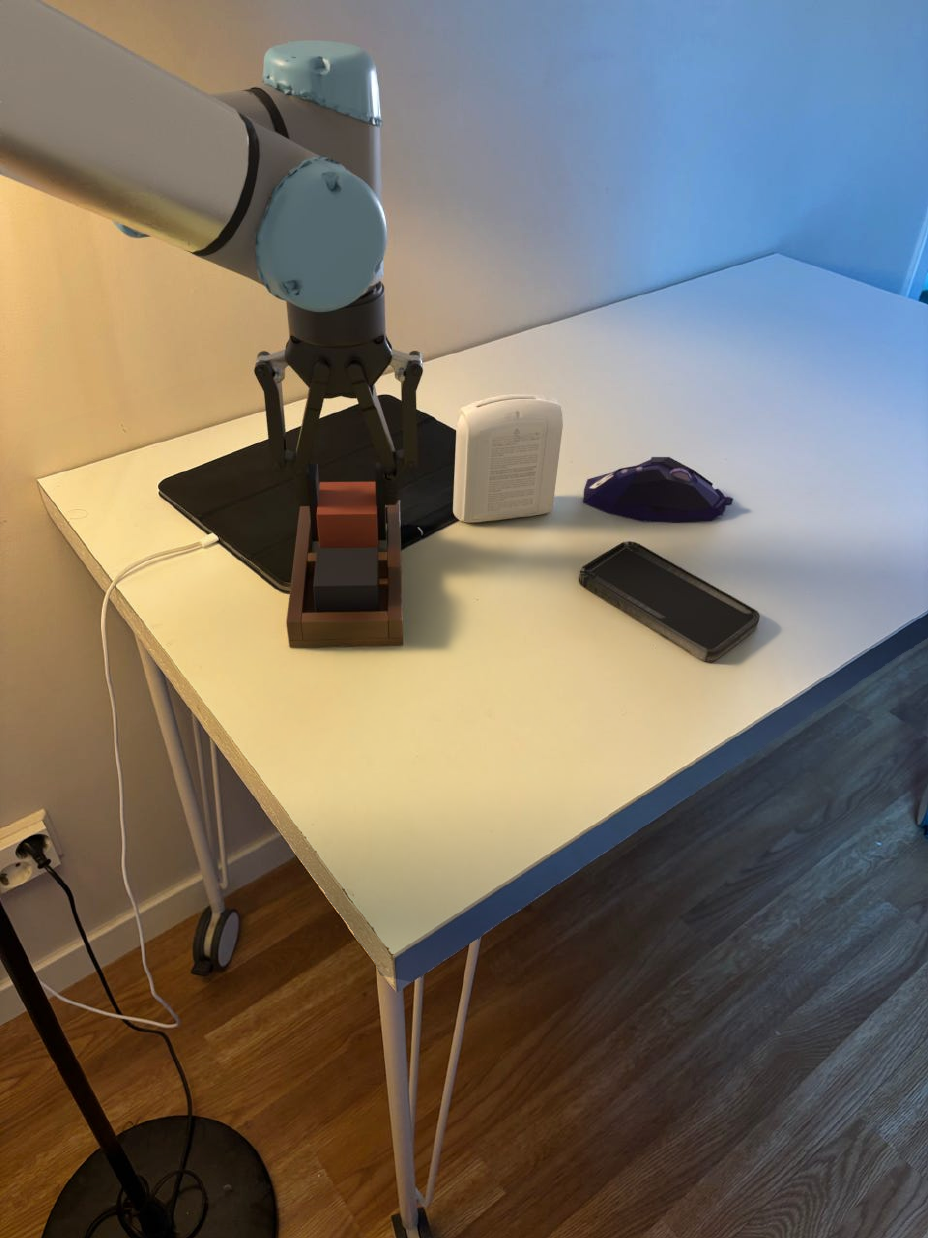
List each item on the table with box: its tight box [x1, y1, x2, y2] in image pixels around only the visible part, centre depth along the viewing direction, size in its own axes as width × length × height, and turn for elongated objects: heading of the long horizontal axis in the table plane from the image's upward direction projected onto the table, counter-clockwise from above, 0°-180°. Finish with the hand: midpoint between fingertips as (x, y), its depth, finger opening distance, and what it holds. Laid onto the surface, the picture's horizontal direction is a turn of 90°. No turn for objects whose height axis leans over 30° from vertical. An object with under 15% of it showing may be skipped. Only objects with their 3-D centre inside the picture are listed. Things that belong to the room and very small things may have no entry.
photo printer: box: [452, 393, 564, 523], centre depth 91 cm, size 10×4×12 cm, turn 105°
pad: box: [317, 481, 378, 548], centre depth 86 cm, size 5×5×4 cm
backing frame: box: [285, 499, 404, 648], centre depth 85 cm, size 9×18×3 cm, turn 4°
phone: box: [578, 540, 761, 663], centre depth 84 cm, size 8×1×15 cm
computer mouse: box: [582, 456, 734, 524], centre depth 96 cm, size 9×15×4 cm, turn 79°
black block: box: [313, 548, 379, 613], centre depth 81 cm, size 5×5×4 cm
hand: (349, 531), depth 87 cm, fingers closed on pad, 5 cm apart
